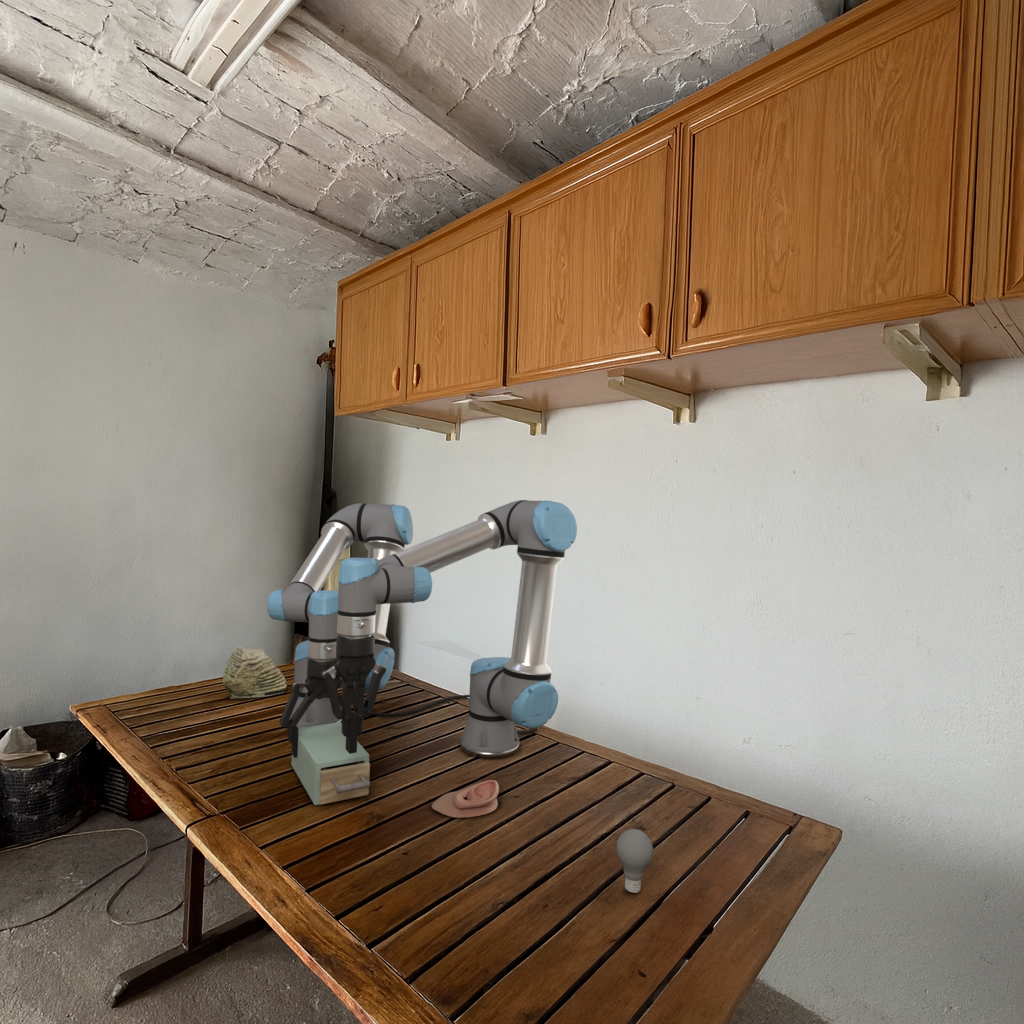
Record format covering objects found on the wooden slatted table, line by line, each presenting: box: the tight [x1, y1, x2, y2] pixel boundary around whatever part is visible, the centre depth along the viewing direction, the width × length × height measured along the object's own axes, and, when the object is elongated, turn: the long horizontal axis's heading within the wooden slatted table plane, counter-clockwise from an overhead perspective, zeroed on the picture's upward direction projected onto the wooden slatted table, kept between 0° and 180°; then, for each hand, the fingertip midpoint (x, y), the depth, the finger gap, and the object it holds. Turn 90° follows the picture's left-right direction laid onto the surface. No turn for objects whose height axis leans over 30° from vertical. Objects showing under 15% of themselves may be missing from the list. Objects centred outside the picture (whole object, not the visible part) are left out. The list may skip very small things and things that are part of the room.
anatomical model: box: [431, 779, 500, 819], centre depth 132 cm, size 13×4×12 cm
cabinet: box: [291, 722, 370, 806], centre depth 142 cm, size 22×11×9 cm, turn 31°
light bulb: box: [615, 828, 654, 894], centre depth 106 cm, size 6×6×10 cm
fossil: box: [222, 646, 288, 699], centre depth 198 cm, size 9×18×15 cm, turn 132°
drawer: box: [319, 761, 371, 805], centre depth 137 cm, size 26×10×6 cm, turn 31°
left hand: (320, 750), depth 148 cm, fingers closed on cabinet, 11 cm apart
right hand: (351, 750), depth 128 cm, fingers closed
